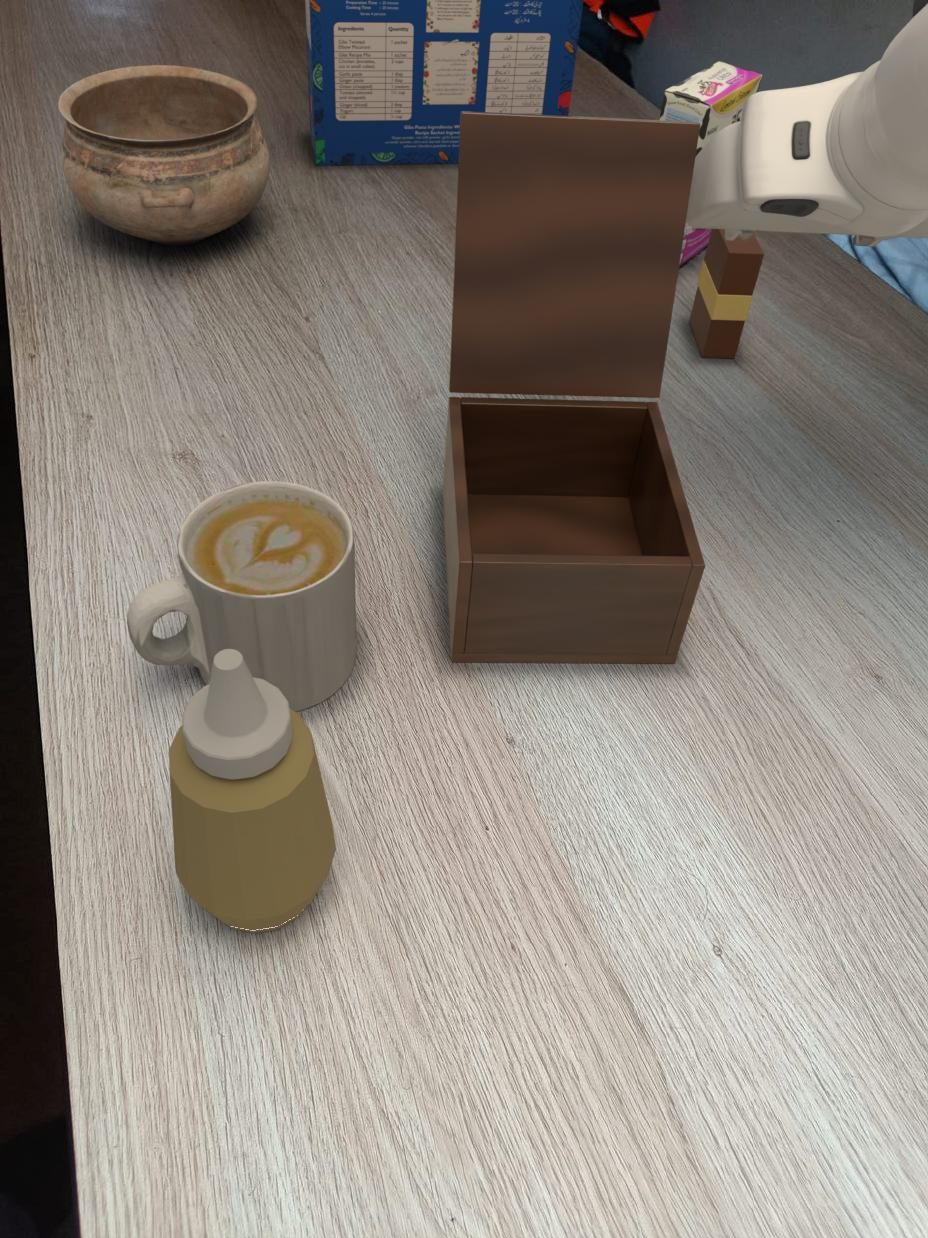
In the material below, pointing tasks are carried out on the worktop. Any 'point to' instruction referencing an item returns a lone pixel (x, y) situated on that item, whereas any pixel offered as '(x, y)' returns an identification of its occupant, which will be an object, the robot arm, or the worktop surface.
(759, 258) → the chocolate bar
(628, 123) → the chest lid
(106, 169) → the cooking pot
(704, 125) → the candy bar box
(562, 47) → the pasta box
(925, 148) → the robot arm
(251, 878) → the squeeze bottle
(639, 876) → the worktop surface
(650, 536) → the chest
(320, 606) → the coffee mug
